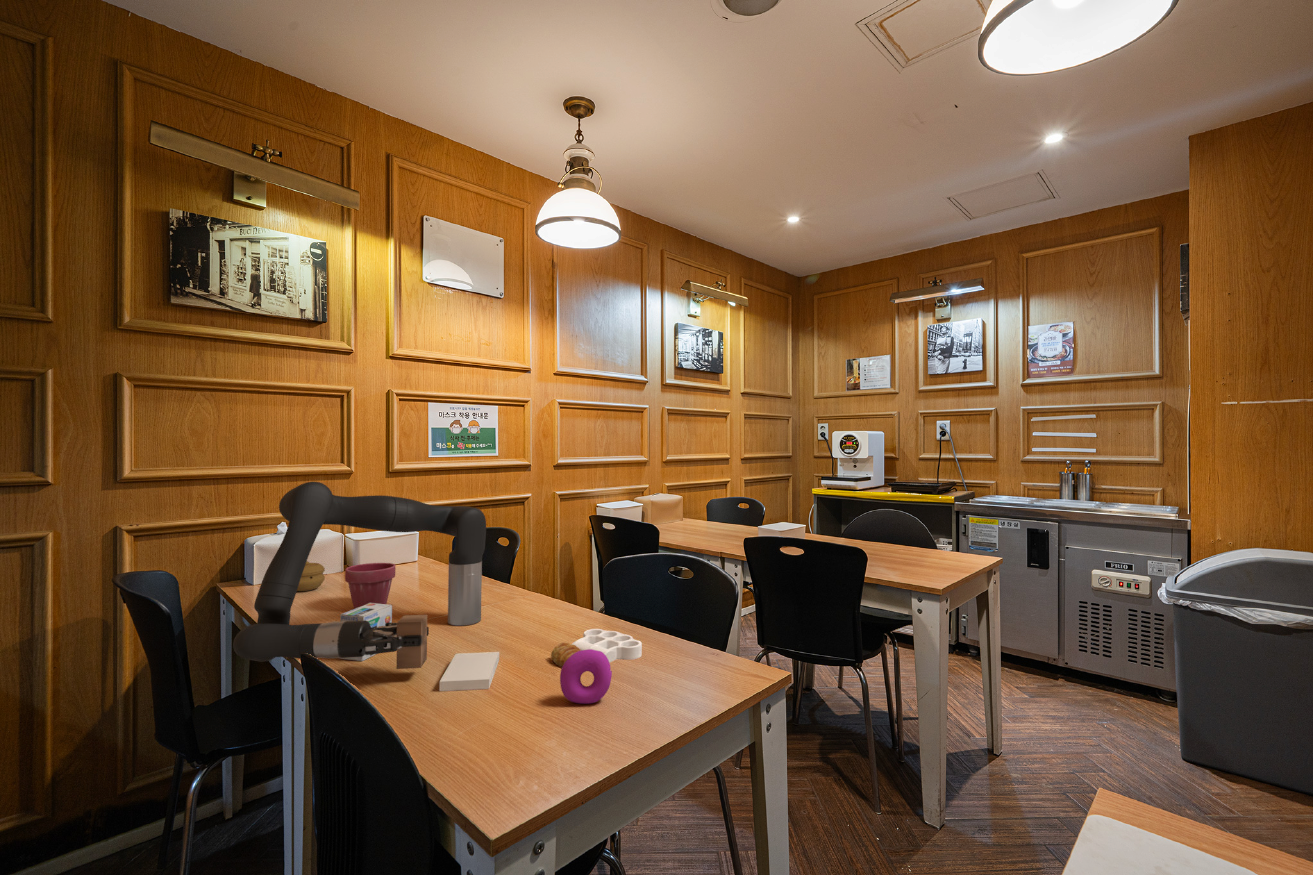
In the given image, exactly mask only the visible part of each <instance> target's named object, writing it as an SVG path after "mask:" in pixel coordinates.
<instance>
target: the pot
mask: <svg viewBox="0 0 1313 875" xmlns="http://www.w3.org/2000/svg"><path fill="white" fill-rule="evenodd" d="M325 571H326V570H325V567H324V565H323V564H321V563H318V562H310V561H308V560H307V561H306V564H305V567H304V570H303V573H302V576H301V579H300V582H299V585H298V588H297V592H308V591H312V590H315V589H317V588H319V587H321V586H322V584H323V583H324V581H325V579H326V576H325V575H324V572H325Z"/></svg>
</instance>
